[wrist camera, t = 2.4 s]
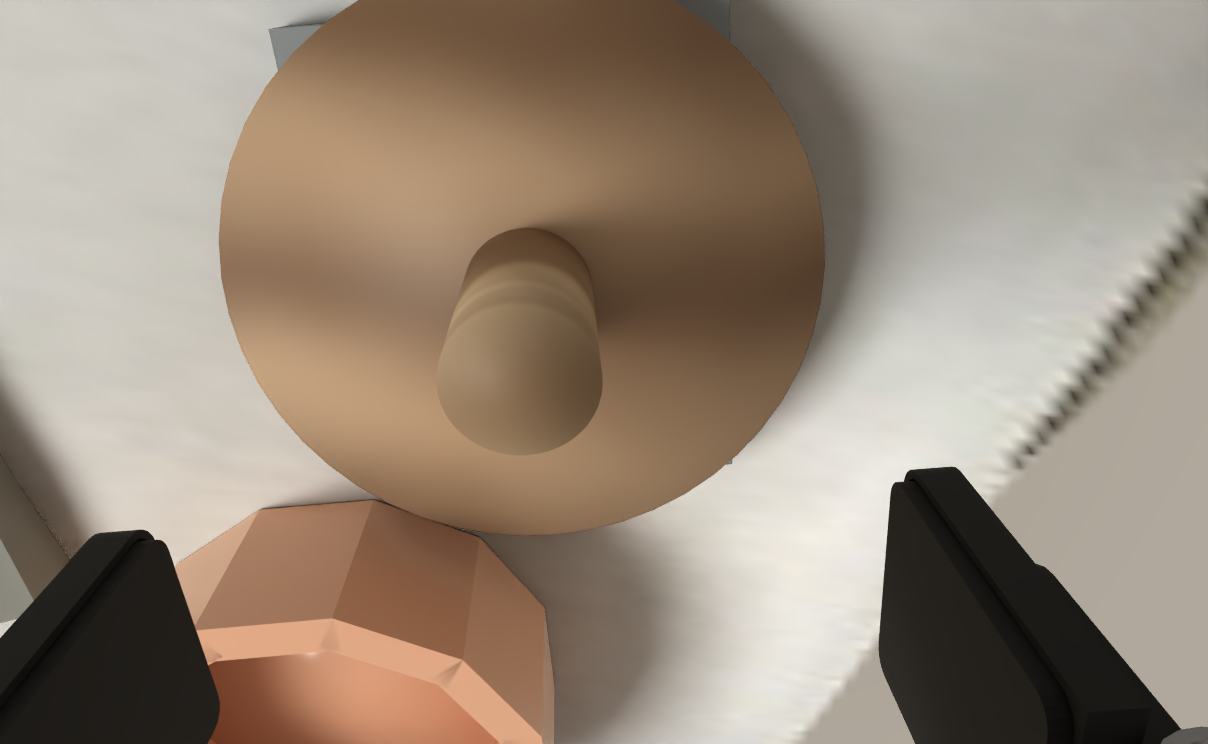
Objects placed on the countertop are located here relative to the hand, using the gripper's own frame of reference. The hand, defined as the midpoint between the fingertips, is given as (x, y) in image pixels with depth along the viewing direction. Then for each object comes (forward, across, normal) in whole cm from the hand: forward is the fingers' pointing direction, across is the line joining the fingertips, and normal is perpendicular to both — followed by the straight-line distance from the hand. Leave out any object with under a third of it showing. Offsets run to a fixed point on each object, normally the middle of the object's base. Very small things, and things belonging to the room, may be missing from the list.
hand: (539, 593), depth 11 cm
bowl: (+12, +8, +12) cm, 19 cm away
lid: (+11, +1, -1) cm, 11 cm away
